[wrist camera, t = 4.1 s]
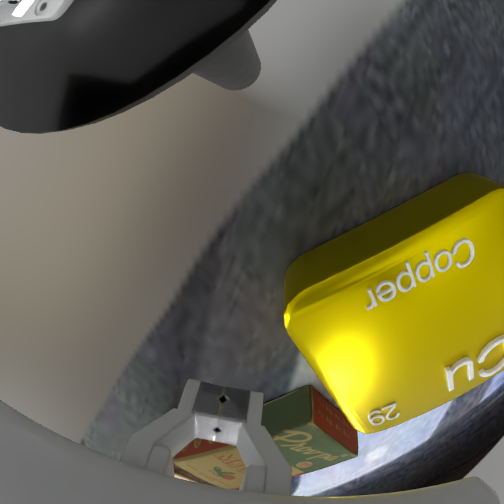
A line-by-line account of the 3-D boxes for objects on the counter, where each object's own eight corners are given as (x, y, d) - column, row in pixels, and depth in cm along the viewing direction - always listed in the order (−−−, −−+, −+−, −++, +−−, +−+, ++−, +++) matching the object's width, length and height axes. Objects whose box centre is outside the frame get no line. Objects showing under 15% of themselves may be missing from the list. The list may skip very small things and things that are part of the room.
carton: (179, 431, 28) (170, 463, 24) (311, 380, 23) (313, 423, 19) (232, 463, 30) (227, 492, 26) (356, 422, 25) (361, 458, 21)
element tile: (478, 160, 14) (525, 177, 10) (502, 325, 19) (528, 360, 15) (270, 266, 19) (266, 313, 14) (353, 400, 23) (361, 445, 19)
